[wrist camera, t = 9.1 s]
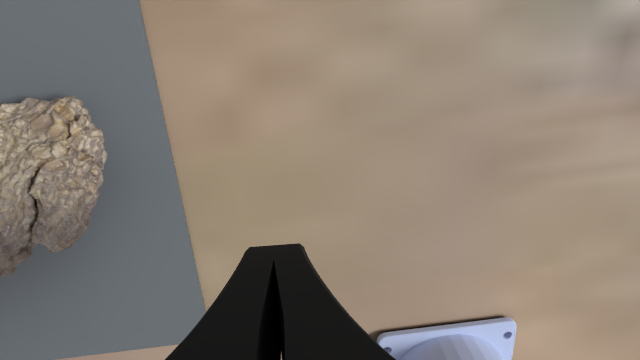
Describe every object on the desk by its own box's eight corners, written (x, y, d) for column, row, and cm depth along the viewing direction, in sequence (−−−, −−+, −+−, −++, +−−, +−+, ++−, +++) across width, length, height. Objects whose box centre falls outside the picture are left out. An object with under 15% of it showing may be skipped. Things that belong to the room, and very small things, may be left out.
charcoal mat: (211, 336, 23) (210, 340, 22) (-23, 364, 22) (-27, 369, 22) (116, -103, 15) (113, -105, 14) (-255, -85, 14) (-265, -86, 14)
